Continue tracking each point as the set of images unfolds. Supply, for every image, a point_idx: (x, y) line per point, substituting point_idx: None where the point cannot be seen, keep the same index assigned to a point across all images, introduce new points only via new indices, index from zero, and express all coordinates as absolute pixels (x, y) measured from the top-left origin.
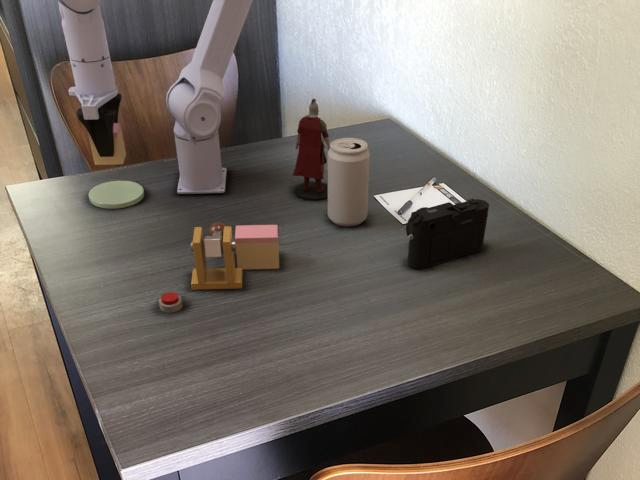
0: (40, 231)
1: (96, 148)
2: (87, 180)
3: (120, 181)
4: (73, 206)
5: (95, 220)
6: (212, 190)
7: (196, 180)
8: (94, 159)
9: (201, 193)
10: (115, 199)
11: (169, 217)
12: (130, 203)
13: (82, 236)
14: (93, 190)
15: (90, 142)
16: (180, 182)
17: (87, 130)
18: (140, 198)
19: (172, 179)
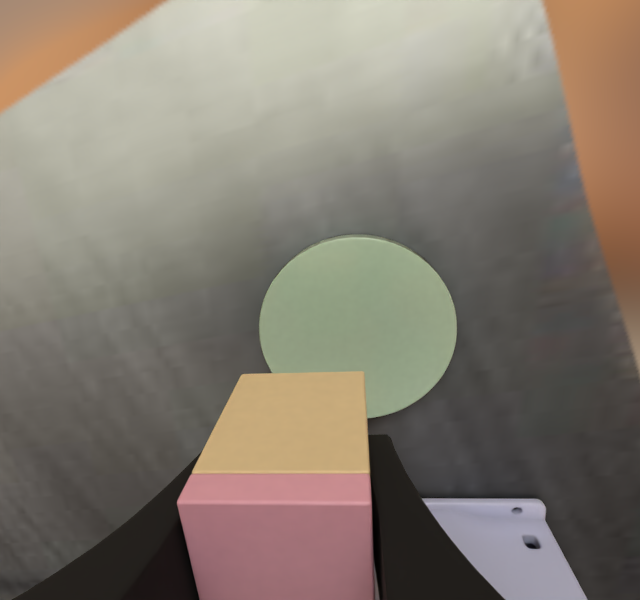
0: (68, 116)
1: (190, 464)
2: (512, 187)
3: (447, 335)
4: (274, 189)
5: (177, 291)
6: None
7: (375, 580)
8: (233, 392)
9: None
10: (295, 343)
11: None
12: None
13: (68, 273)
14: (370, 251)
15: (203, 452)
16: (432, 508)
17: (74, 560)
18: None
19: (484, 473)
